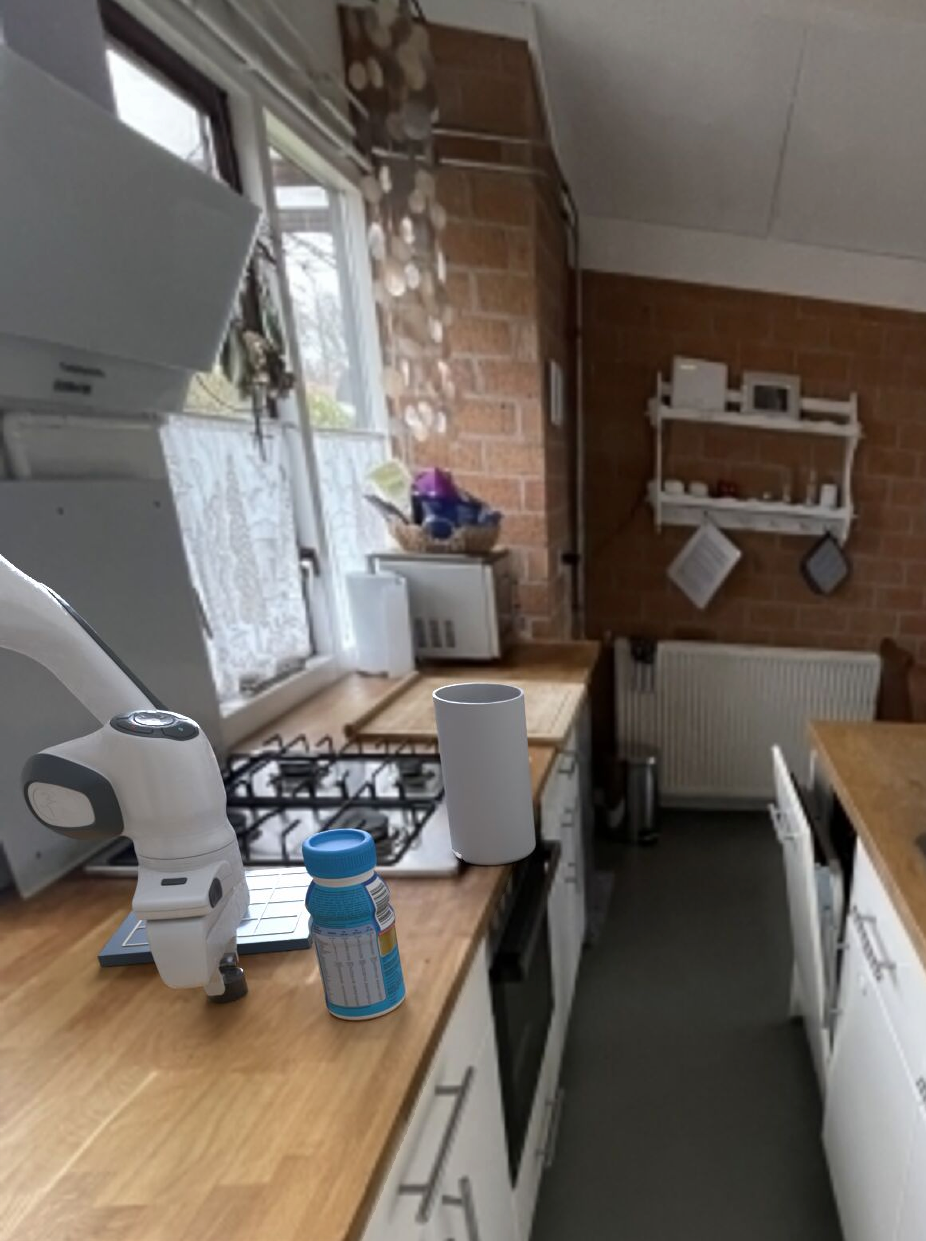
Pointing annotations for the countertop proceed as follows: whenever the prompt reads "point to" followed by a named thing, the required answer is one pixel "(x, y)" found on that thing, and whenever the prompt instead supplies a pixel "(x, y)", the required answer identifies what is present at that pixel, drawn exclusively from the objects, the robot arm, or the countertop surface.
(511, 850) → the cylinder vase
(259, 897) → the board
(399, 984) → the beverage bottle
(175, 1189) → the countertop surface
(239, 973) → the black stone
